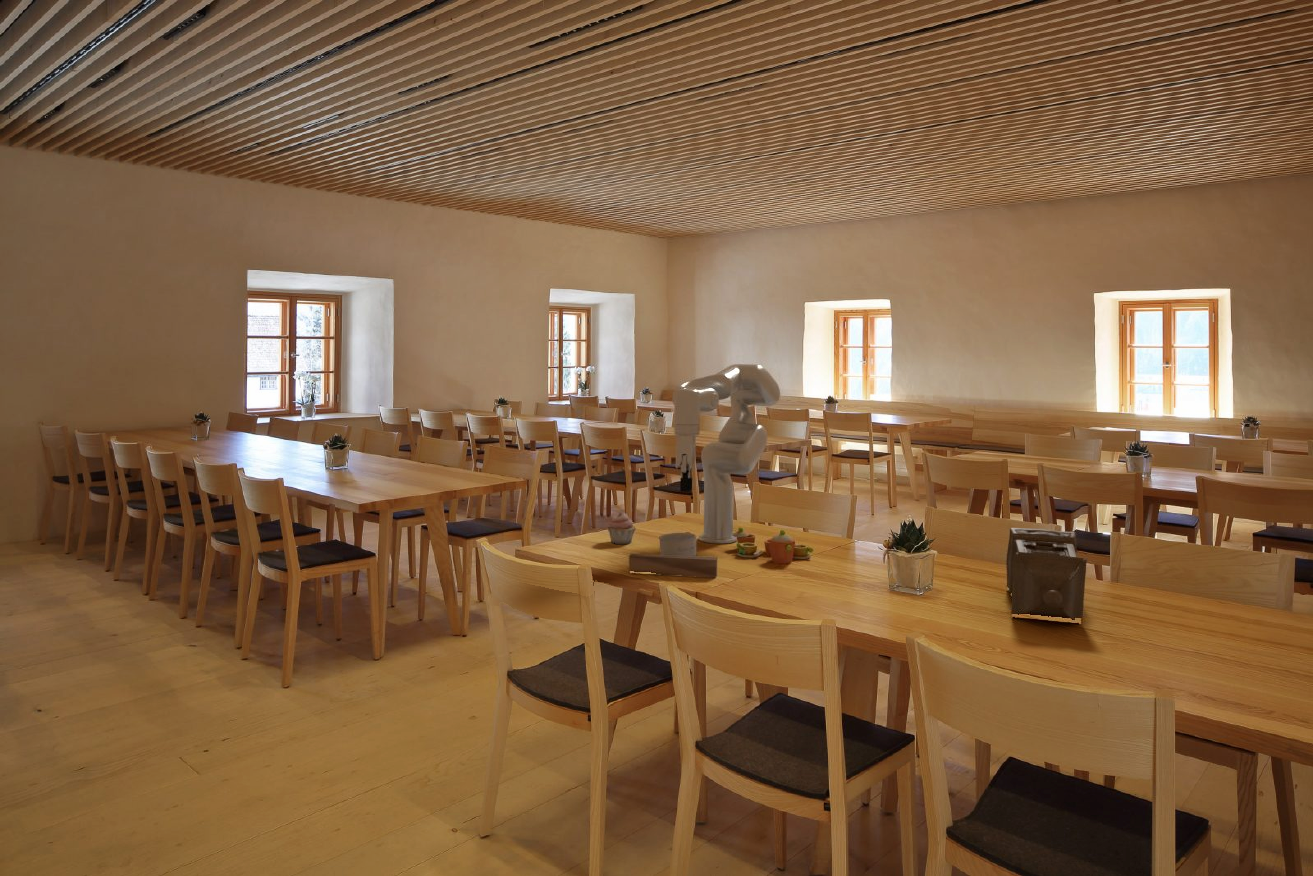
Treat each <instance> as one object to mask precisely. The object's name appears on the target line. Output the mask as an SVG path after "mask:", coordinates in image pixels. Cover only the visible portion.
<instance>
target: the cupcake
mask: <svg viewBox="0 0 1313 876" xmlns="http://www.w3.org/2000/svg"><path fill="white" fill-rule="evenodd" d="M606 529H607V531H608V534H609V536H610V541H611V543H612V544H614V543H615V544H614V545H629V544H631V543H632V541H633V537H634V533H635V531H636V529H637V528H636V526H634V522H633V521H632V519H631V518H630V517H629V516H628V514H627V513H625V512H622V511H620V512H619V513H618V515H616V516H613V517H612V519H611V521H609V523H608V527H606Z"/></svg>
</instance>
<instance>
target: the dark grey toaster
mask: <svg viewBox="0 0 1313 876" xmlns="http://www.w3.org/2000/svg"><path fill="white" fill-rule="evenodd" d="M1077 548H1078V545H1077V533H1076V532H1075V531H1062V530H1061V531H1060V530H1053V529H1044V528H1043V529H1042V528H1041V529H1040V528H1026V527H1025V528H1024V527H1023V528H1021V527H1010V528H1009V539H1008V544H1007V550H1006V560H1005V561H1006V562H1005V563H1006V565H1005V566H1006V588H1007V587H1008V588H1009V590H1008V592H1009V591H1010V592H1009V594H1010V593H1012V596H1011V611H1010V612H1011V613H1010V615H1011V614H1018V615H1019V614H1030V615H1041V616H1048V617H1049V616H1051V617H1062V618H1071V619H1072V620H1075V618H1082V619H1083V614H1084V602H1085V601H1084V600H1085V599H1084V598H1085V588H1086V587H1085V585H1086V584H1085V583H1086V577H1087V575H1086V574H1087V562H1088V559H1087V558H1084V557H1077Z"/></svg>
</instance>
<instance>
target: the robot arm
mask: <svg viewBox="0 0 1313 876" xmlns="http://www.w3.org/2000/svg"><path fill="white" fill-rule="evenodd" d="M780 397H781V390H780V386H779V384H778V382H777V381H776V380H775V379H774V377H773V376H772V375H771V372H769V371H768V369H766V368H765V367H763V366H762V365H761V364H746V363H745V364H743V363H742V364H741V363H737V364H730V365H729V366H727V367H725V368H724V369H722V370H721V371H719V372H716V373H714V374H712V375H711V374H710V375H707V376H706V375H705V376H704V377H698V378H694V379H690V380H688V381H686V382H684V383H682V384H680V385H679V386H677V387H676V389H675V390H674V391H673V393H672V404H673V406H674V417H673V418H674V423H673V424H674V425H673V428H674V429H673V430H674V431H673V433H674V436H677V437H676V446H675V447H676V449H675V468H676V469H679V468H680V481H679V482H680V483H679V485H680V486H679V487H680V488H679V489H680V492H683V493H685V492H687V493H688V492H689V493H690V492H691V491H693V467H694V466H695V464H696V444H697V443H696V441H697V440H696V439H697V438H696V437H697V436H700V417H701V416H700V415H701V414H700V413H710V412H712V411H714V410H716V409H717V407H718V405H719V403H720V401H722V400H726V399H728V398H730V409H731V410H730V411H731V414H730V416H729V418H728V420H727V421H726V423H724V425H723V427H722V429H721V430H720V432H719V434H718V438H717V439H718V441H717V442H715V441H713V442H710V443H707V444H705V446H704V447H703V448H702V450H701V453H700V454H701V457H700V459H701V464H702V470H703V486H704V487H703V490H704V491H703V533H700V534H698V540H699V541H701V542H705V543H709V544H731V543H735V542H737V537H734V536H733V533H734V494H735V489H734V486H735V485H734V482H733V481H732V480H733V479H732V478H731V476H730V475H729V474H734V475H746V474H747V475H748V474H749V473H751V472H753V470H754V469H755V467H756V465H757V463H759V460H760V458H761V457H762V455H763V453H764V451H765V450H766V447H767V443H768V431H767V430H766V428H765V426H763V425H762V424H759V423H756V418H755V416H754V414H753V412H752V410H751V409H750V408H749V406H755V407H758V406H759V407H773V406H775V405H777V404H778V402H779V401H780Z"/></svg>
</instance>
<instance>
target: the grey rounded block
mask: <svg viewBox="0 0 1313 876" xmlns="http://www.w3.org/2000/svg"><path fill="white" fill-rule="evenodd" d="M658 539H659V551H660V552H659V553H660V555H676V556H696V555H697V535H696V534H695V533H693V532H692V533H691V532H690V531H689V532H688V531H687V532H686V531H685V532H671V533H665V534H662V535H660V536H658Z"/></svg>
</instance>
